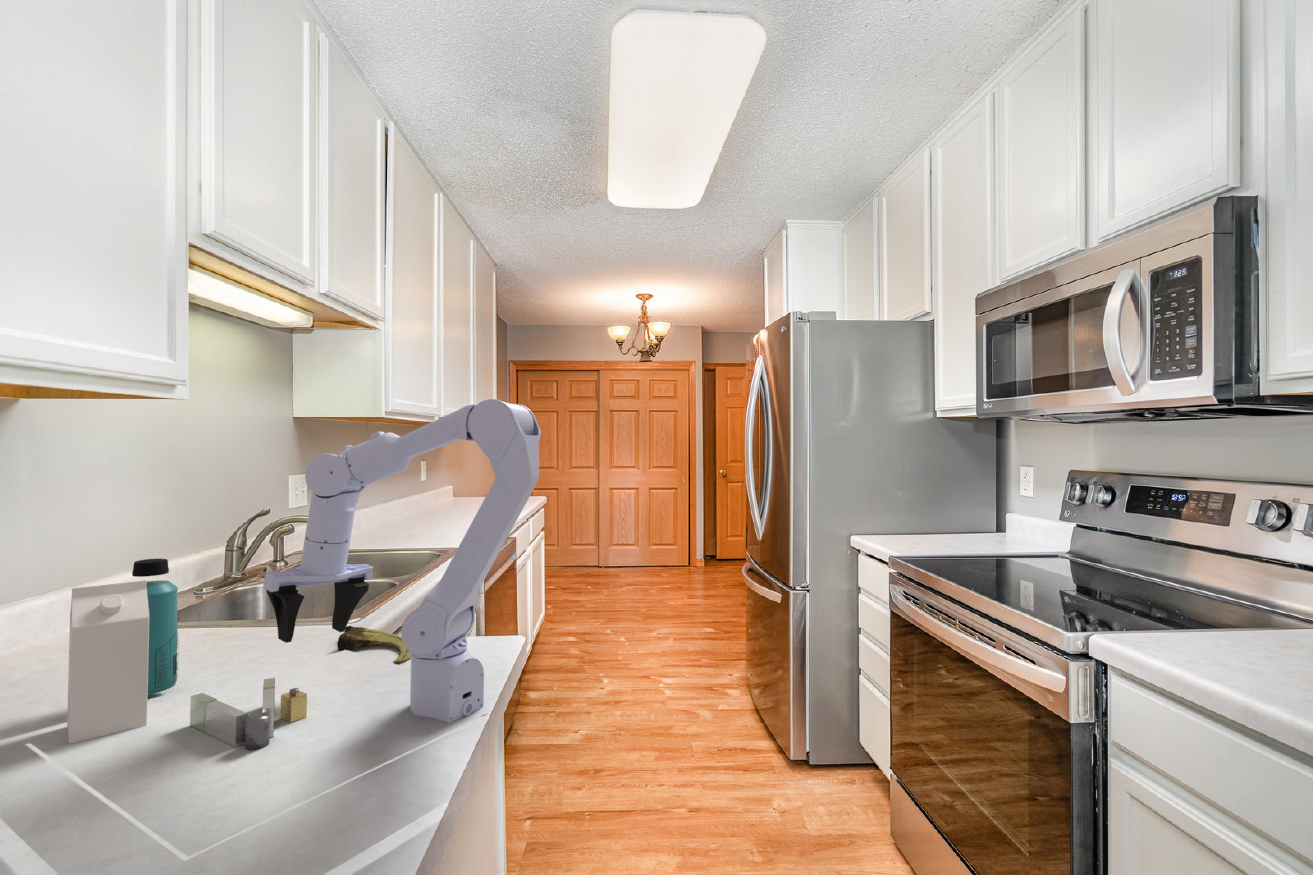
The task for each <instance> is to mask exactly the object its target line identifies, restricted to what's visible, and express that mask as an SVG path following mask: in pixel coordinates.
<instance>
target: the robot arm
mask: <svg viewBox="0 0 1313 875" xmlns="http://www.w3.org/2000/svg"><path fill="white" fill-rule="evenodd" d="M541 435H542V430H541V428H540V426H539V423H538V421H537V419H536V416H535V414H534V413H533V412H532V410H531V409H530V408H528V407H527V406H525V405H524V404H520V403H511V402H510V403H509V402H504V401H502V400H500V399H496V398H488V399H485V400H482V401H480V402H479V403H477V404H469V405H465V406H463V407H460V408H459V409H457V410H455V411H453V412H451V413H448V414H447V415H445V416H442V417H440V418H438V419H436V420H434V421H432V422H429V423H427V424H424V425H423V426H420V427H419V428H415V429H414V430H412V431H410V432H408V433H405V434H403V435H401V436H400V435H398V434H396V433H394V432H389V431H388V432H386V433H385V432H384V431H376V432H373V433H371V434H370V436H371V438H370V439H369V440H366V441H364V442H361V443H358V444H356V445H354V446H353V445H352V444H351V445H346V446H342V447H341V451H340V452H339V454H333V453H326V452H324V453H320V454H319V455H318V456H317V457H315V458H313V459H312V460H311V461H309V463H308V464H307V466H306V470H305V474H304V475H305V476H304V478H305V479H304V480H305V483H306V485H307V487H308V489H309V490H310V491H311V497H310V504H309V510H308V515H307V522H306V527H305V533H304V540H303V548H302V553H301V554H302V555H301V559H300V565H299V567H293V568H290V569H286V570H281V571H277V572H270V573H269V572H268V573H265V574H264V580H263V587H262V588H263V589H264V590H266V594H267V596H268V598H269V600H270V602H271V606H272V608H273V611H274V612H273V613H274V616H275V619H276V625H277V638H278V639H279V640H280V641H281V642H283V643H285V644H286V643H291V642H292V640H293V638H294V635H295V634H294V633H295V627H296V621H297V617H298V613H299V610H300V608H301V606H302V604H303V601H304V599H305V596H304V595H303V594H301V593H299V590H298V589H297V588H301V587H308V586H315V585H324V584H334V606H333V613H332V617H331V618H332V619H331V629H333V630H335V631H337V632H339V633H344V631H345V628H346V627H347V626H348V623H349V622H350V618H351V617H352V614H354V613H353V612H354V611H355V609H356V607H357V606H358V604H359V602H361V600H362V598H363V597H364V596H365V595H366V594H367V592H368V591H369V587H370V584H369V583H368V582H367V581H369V580H370V581H371V580H372V579H373V571H374V567H373V566H372V565H369V564H367V563H362V564H361V563H360V564H359V563H357V564H348V557H349V550H350V544H351V538H352V532H353V525H354V521H355V520H354V519H355V513H356V506H357V504H358V502H359V498H360V494H361V493H362V492H363V491H364V490H365V489H366V488H367V486H369V485H372V484H374V483H376V482H380V481H381V480H383V479H386V478H388V477H391V476H394V475H397V474H399V473H402V472H404V471H406V470H407V469H408V468H409V465H410V464H411V462H412V459H413V458H414V457H418V456H420V455H423V454H426V453H429V452H431V451H434V450H436V449H441V448H443V447H445V446H449V445H451V444H454V443H456V442H459V441H471V442H472V441H473V442H475V444H476V445H477V446H478V447H479V448H480V450H481V452H483V453H484V455H485V456H486V457H487V458H488V460H489V462H490V463H489V464H490V465H491V468H492V470H493V473H494V476H495V479H494V480H493V483H492V484H491V486H490V488H489V490H488V492H487V493H486V495H485V497H484V499H483V500H482V503H481V504H480V507H479V508H478V510H477V513H476V514H475V516H474V517H473V519H472V521H471V523H470V525H469V527H468V529H467V530H466V533H465V535H464V536H463V538H462V540H461V541H460V543H459V545H458V547H457V549H456V551H455V553H454V555H453V557H452V559H451V561H450V562H449V563H448V566H447V568H446V569H445V571H444V573H443V575H442V577H441V579H440V580H439V581H438V582H437V583H436V584H435V585H434V586H433V587H432V588H431V590H429V592H428V593H427V594H426V595H425V596H424V598H423V600H422V602H421V603H420V605H419V606H418V607H416V608H415V609H414V610H412V611H411V612H409V613H408V614H407V615H406V617H405V618H404V620H402V625H401V629H400V631H401V632H400V634H401V635H400V636H401V637H402V640H403V643H404V645H405V646H406V648H407V649H408V650H409V651H410V657H411V659H410V687H409V688H410V693H409V695H410V698H409V700H410V701H409V703H410V704H409V710H410V712H411V713H412V714H413V715H416V716H419V717H428V718H432V719H435V720H439V721H441V722H445V723H452V722H455V721H456V720H458V719H461V718H463V717H464V716H467V717H468V716H470V715H471V714H472V713H473V712H476V711H479V710H480V709H482V708H484V698H485V697H484V696H485V694H484V693H485V690H484V688H485V687H484V686H485V684H484V683H485V680H484V679H485V670H484V666H483V664H482V662H481V661H480V660H479V659H478V658H476V657H474V656H473V655H472V654H470V652H469V649H468V642H467V641H468V640H467V634H468V633H469V632H470V631H471V629H472V628H473V626H474V624H475V620H476V608H477V605H478V604H479V601H480V599H481V596H480V593H479V590H480V588H481V587H482V585H483V583H484V582H485V579H486V577H487V575H488V574H489V572H490V570H491V569H492V566H493V565H494V562H495V561H496V559H497V557H498V555H499V554H500V552H501V550H502V548H503V546H504V545H505V543H506V542H507V539H508V537H509V535H510V534H511V531H512V529H513V528H514V526H515V524H516V522H517V520H518V519H519V517H520V515H521V513H522V511H523V510H524V507H525V506H526V504H527V502H528V500H529V499H530V496H531V495H532V493H533V491H534V489H535V488H536V486H537V484H538V481H539V478H540V439H541V437H542V436H541ZM487 715H489V713H486V714H483V715H481V716H480V717H481V718H483V717H485V716H487Z"/></svg>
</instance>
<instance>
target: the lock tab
mask: <svg viewBox="0 0 1313 875" xmlns="http://www.w3.org/2000/svg"><path fill="white" fill-rule="evenodd" d="M307 700H308V693H306V692H303V691H300V690H299V688H298V687H295V688H290V689H289V692H286V693H285V692H284V693H283V694H281V695H280V714H279V715H280V719H281V720H284V721H285V722H289V723H293V722H297V721H299V720H302V719H304V718H307V711H308V709H307V704H308V701H307Z"/></svg>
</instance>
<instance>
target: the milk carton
mask: <svg viewBox="0 0 1313 875" xmlns="http://www.w3.org/2000/svg"><path fill="white" fill-rule="evenodd" d="M147 581H148V580H147V579H146V580H135V581H127V582H118V583H110V584H109V583H107V584H101V585H99V584H98V585H89V586H79V587H73V588H71V601H70V614H69V639H68V640H69V641H68V644H69V645H68V684H67V721H66V722H67V723H66V726H67V727H66V729H67V736H68V744H73V743H74V744H75V743H77V742H78V743H79V742H82V741H86V740H91V739H95V738H96V739H97V738H99V737H104V736H108V735H112V734H116V733H120V732H125V731H130V730H133V729H134V730H135V729H138V728H141V727H142V728H143V727H146V726H147V725H148V696H149V695H148V653H149V607H148V597H147Z"/></svg>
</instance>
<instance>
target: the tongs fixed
mask: <svg viewBox="0 0 1313 875" xmlns="http://www.w3.org/2000/svg"><path fill="white" fill-rule="evenodd" d="M189 705H190V710H189V711H190V712H189V725H190V727H193V728H194V729H196V730H199V731H201V732H203V733H206V734H208V735H210V736H211V737H214V738H216V739H217V740H220V741H221V742H224V743H226V744H228V745H230V746H232V747H234V748H237V747H240V746H243V745H244V749H245V750H246V751H258V750H261V749H265V748H266V747H267V746H269V745H270V737H269V736H270V714H269V713H266V712H257V713H253V714H250V715H248V713H247V712H245V711H243V710H241V709H239V708H236V707H234V706H231V705H229V704H227V703H224V702H222V701H220V700H217V698H215V697H213V696H211V695H208V694H206V693H205V692H201V693H198V694H195V695H191V696H190V704H189Z"/></svg>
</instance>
